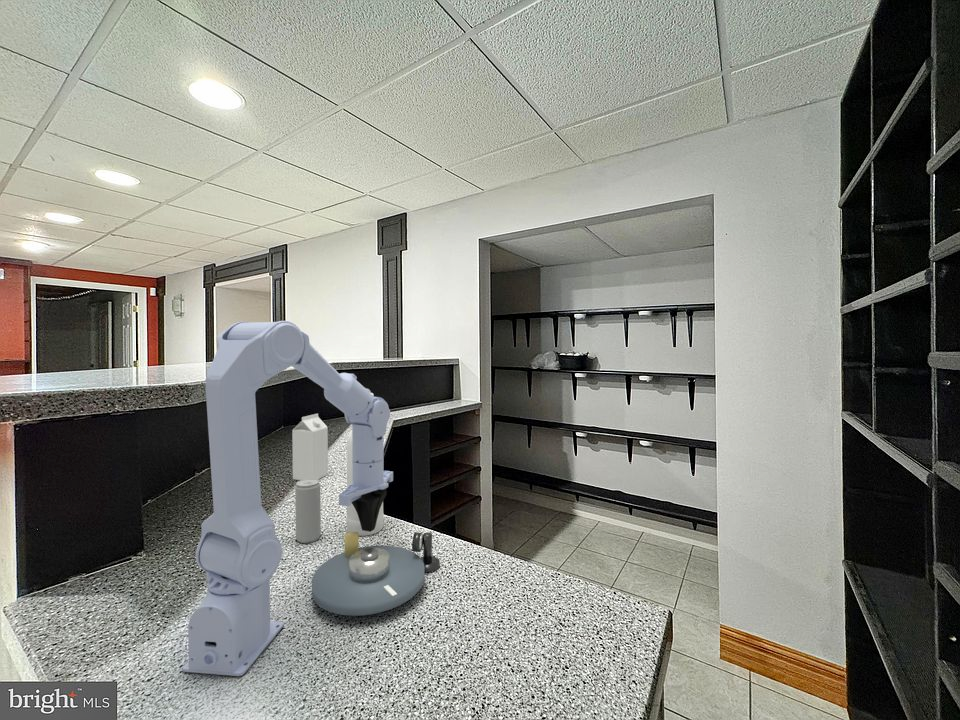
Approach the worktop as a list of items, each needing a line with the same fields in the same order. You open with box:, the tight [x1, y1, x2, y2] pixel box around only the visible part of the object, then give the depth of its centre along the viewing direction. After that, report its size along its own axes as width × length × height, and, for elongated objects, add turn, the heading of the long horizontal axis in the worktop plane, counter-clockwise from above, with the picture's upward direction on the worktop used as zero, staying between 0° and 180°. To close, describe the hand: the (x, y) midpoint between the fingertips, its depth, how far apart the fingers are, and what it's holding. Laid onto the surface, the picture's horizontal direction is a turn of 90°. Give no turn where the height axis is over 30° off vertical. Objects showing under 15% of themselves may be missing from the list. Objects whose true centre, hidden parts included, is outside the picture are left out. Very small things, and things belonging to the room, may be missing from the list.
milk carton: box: [291, 413, 329, 481], centre depth 126 cm, size 7×7×19 cm
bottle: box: [345, 392, 385, 537], centre depth 91 cm, size 8×8×30 cm
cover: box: [349, 548, 389, 584], centre depth 69 cm, size 6×6×3 cm
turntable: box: [311, 532, 425, 617], centre depth 69 cm, size 18×18×5 cm
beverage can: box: [294, 479, 322, 544], centre depth 87 cm, size 5×5×12 cm
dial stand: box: [411, 531, 441, 573], centre depth 76 cm, size 5×4×7 cm
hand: (368, 529), depth 80 cm, fingers closed
